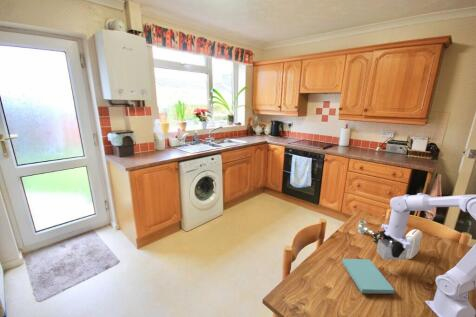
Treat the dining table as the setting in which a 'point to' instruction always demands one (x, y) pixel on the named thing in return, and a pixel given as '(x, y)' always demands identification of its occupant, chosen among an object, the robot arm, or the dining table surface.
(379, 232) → the valve
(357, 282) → the teal flat slab
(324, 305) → the dining table surface
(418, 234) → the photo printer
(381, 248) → the housing
